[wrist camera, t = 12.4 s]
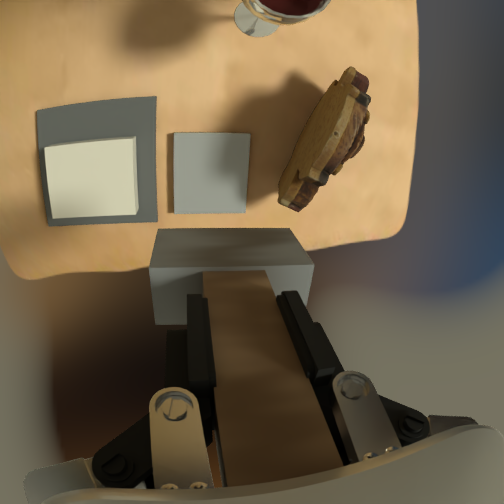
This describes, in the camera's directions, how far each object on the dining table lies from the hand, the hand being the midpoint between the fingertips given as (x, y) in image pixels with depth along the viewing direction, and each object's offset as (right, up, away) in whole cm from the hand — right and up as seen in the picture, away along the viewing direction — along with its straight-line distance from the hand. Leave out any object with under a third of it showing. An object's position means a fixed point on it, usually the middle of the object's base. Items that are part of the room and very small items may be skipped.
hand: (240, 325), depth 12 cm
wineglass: (+1, +28, +15) cm, 31 cm away
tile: (-16, +14, +16) cm, 27 cm away
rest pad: (-4, +11, +22) cm, 25 cm away
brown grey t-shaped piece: (-1, +3, +6) cm, 6 cm away
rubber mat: (-17, +12, +19) cm, 28 cm away
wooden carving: (+7, +16, +22) cm, 28 cm away
